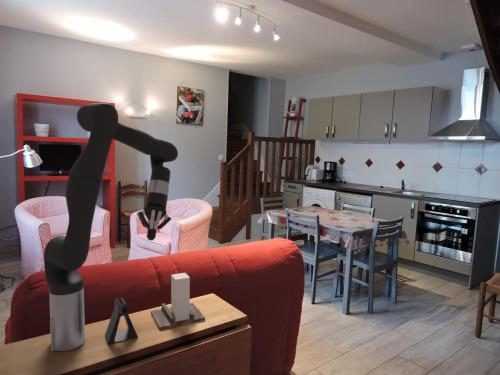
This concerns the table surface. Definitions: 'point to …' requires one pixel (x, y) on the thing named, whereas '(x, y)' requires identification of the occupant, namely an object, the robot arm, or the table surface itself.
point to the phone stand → (111, 331)
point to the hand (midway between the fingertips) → (150, 240)
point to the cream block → (180, 296)
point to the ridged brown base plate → (167, 320)
